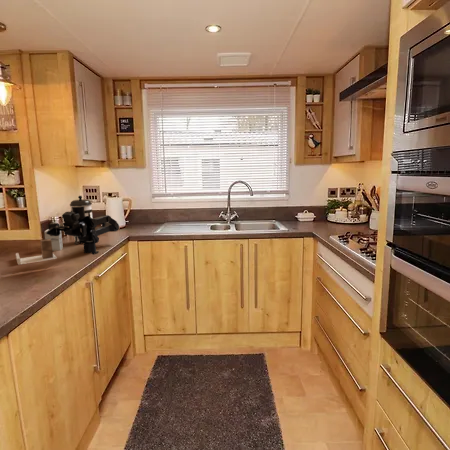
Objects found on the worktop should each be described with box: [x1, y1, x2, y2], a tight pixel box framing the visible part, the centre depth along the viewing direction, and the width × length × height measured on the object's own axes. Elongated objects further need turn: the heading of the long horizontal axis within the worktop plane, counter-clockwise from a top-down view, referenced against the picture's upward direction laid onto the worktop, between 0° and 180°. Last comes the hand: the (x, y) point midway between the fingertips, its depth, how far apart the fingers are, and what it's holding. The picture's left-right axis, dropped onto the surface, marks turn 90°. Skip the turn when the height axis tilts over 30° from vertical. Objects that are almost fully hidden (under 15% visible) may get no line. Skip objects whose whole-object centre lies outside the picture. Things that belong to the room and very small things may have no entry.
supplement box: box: [44, 228, 64, 252], centre depth 183 cm, size 7×7×13 cm
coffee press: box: [69, 195, 93, 245], centre depth 203 cm, size 17×16×30 cm
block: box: [39, 238, 54, 259], centre depth 166 cm, size 4×4×9 cm
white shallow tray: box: [15, 252, 58, 265], centre depth 164 cm, size 17×13×4 cm
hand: (55, 233), depth 149 cm, fingers open, 9 cm apart
